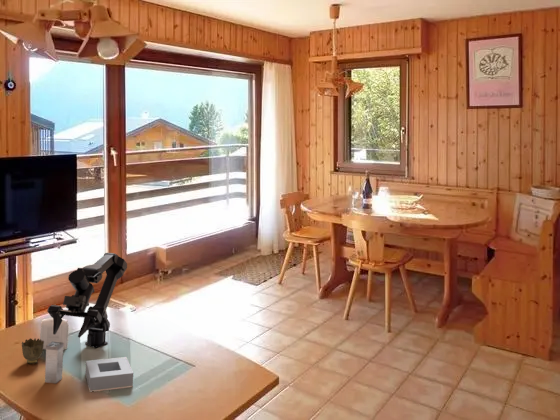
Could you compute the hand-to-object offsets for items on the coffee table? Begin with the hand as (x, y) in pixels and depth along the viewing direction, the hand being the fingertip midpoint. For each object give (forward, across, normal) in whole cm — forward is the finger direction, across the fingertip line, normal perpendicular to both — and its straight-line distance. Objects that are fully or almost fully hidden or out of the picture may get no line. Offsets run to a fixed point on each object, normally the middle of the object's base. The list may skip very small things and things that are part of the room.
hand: (66, 335), depth 188 cm
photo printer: (-3, -14, +22) cm, 26 cm away
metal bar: (+15, 0, +4) cm, 15 cm away
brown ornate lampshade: (+7, -14, +12) cm, 20 cm away
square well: (+11, +18, +7) cm, 22 cm away
